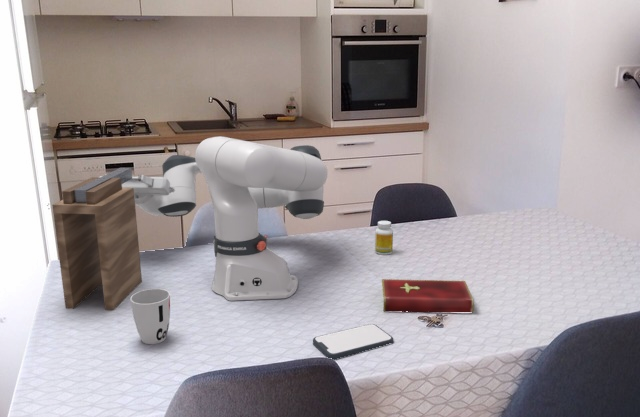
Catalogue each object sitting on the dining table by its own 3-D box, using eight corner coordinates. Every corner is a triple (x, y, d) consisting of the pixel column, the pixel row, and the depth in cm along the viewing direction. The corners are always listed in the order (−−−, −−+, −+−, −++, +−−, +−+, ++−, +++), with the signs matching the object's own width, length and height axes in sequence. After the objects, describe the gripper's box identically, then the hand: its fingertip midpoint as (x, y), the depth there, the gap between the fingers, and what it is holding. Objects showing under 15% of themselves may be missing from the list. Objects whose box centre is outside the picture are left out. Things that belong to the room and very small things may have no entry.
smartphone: (373, 328, 135) (310, 344, 127) (373, 322, 134) (310, 337, 127) (395, 345, 127) (330, 363, 120) (396, 338, 127) (330, 355, 119)
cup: (162, 349, 124) (159, 305, 122) (127, 345, 126) (123, 302, 123) (179, 331, 132) (176, 290, 129) (145, 328, 134) (141, 287, 131)
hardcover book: (472, 316, 140) (473, 299, 139) (383, 313, 142) (383, 297, 140) (464, 295, 152) (465, 279, 151) (381, 293, 153) (382, 278, 152)
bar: (132, 178, 163) (131, 167, 162) (87, 202, 138) (86, 190, 137) (121, 178, 163) (120, 167, 163) (75, 202, 138) (73, 190, 138)
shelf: (141, 281, 160) (132, 176, 152) (113, 310, 143) (100, 193, 135) (99, 279, 161) (87, 175, 154) (65, 308, 144) (50, 192, 136)
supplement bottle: (372, 250, 184) (373, 220, 181) (389, 248, 185) (389, 219, 182) (377, 256, 179) (378, 225, 176) (394, 254, 180) (395, 224, 177)
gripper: (175, 202, 173) (159, 189, 160) (108, 201, 175) (86, 187, 162) (177, 181, 175) (162, 166, 162) (111, 180, 177) (89, 165, 164)
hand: (123, 177), depth 162 cm, fingers open, 8 cm apart
